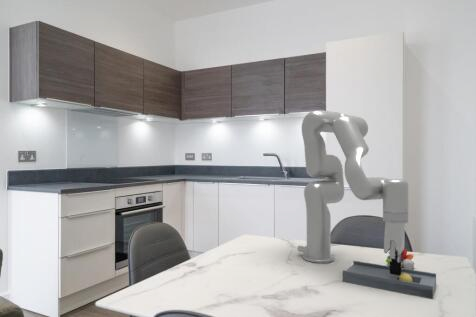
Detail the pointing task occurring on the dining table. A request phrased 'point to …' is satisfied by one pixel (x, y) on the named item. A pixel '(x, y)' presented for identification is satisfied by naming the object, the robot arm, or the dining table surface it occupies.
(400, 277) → the ball
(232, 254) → the dining table surface
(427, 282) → the tray
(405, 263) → the rainbow white-lobed toy
